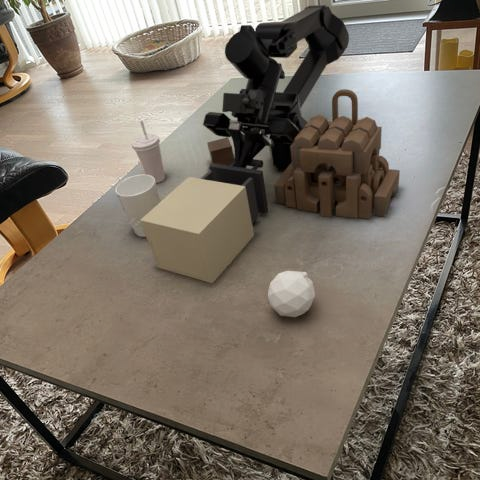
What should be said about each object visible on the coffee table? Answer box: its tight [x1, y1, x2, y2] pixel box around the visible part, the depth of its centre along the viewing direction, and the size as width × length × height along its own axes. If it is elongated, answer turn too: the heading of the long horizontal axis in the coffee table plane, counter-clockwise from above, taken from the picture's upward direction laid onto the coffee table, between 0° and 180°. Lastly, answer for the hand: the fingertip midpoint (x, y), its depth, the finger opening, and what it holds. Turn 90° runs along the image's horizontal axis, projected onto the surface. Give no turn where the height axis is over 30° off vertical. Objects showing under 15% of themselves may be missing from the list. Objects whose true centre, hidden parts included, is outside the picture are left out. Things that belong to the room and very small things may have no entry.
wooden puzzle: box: [273, 88, 401, 220], centre depth 91 cm, size 22×15×19 cm, turn 63°
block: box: [206, 137, 235, 166], centre depth 113 cm, size 5×5×5 cm
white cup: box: [114, 173, 162, 238], centre depth 97 cm, size 8×8×10 cm
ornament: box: [267, 270, 316, 318], centre depth 74 cm, size 7×7×8 cm
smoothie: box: [131, 120, 166, 184], centre depth 110 cm, size 6×6×14 cm
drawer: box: [200, 157, 269, 224], centre depth 93 cm, size 18×11×9 cm, turn 148°
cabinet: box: [140, 176, 255, 284], centre depth 88 cm, size 15×13×11 cm
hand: (238, 171), depth 94 cm, fingers closed, pressing on drawer
